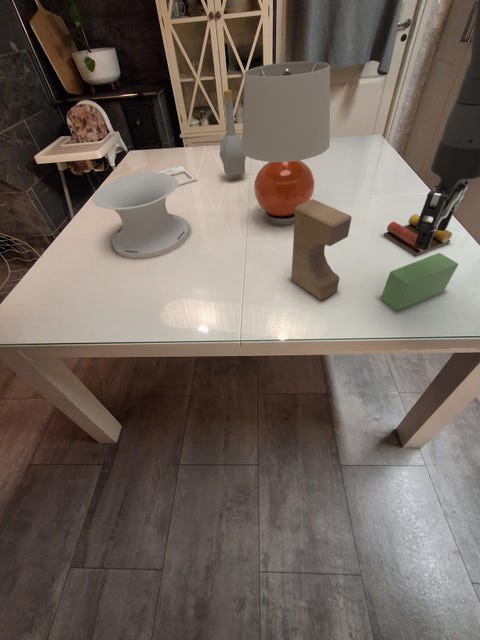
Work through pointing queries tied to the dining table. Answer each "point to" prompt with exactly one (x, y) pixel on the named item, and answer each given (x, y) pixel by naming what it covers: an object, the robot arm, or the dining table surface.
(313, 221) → the decorative block
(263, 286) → the dining table surface
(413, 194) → the dining table surface
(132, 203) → the vase
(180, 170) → the photo frame
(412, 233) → the rod rack
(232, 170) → the bottle
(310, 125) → the lamp
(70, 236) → the dining table surface
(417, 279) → the bar
